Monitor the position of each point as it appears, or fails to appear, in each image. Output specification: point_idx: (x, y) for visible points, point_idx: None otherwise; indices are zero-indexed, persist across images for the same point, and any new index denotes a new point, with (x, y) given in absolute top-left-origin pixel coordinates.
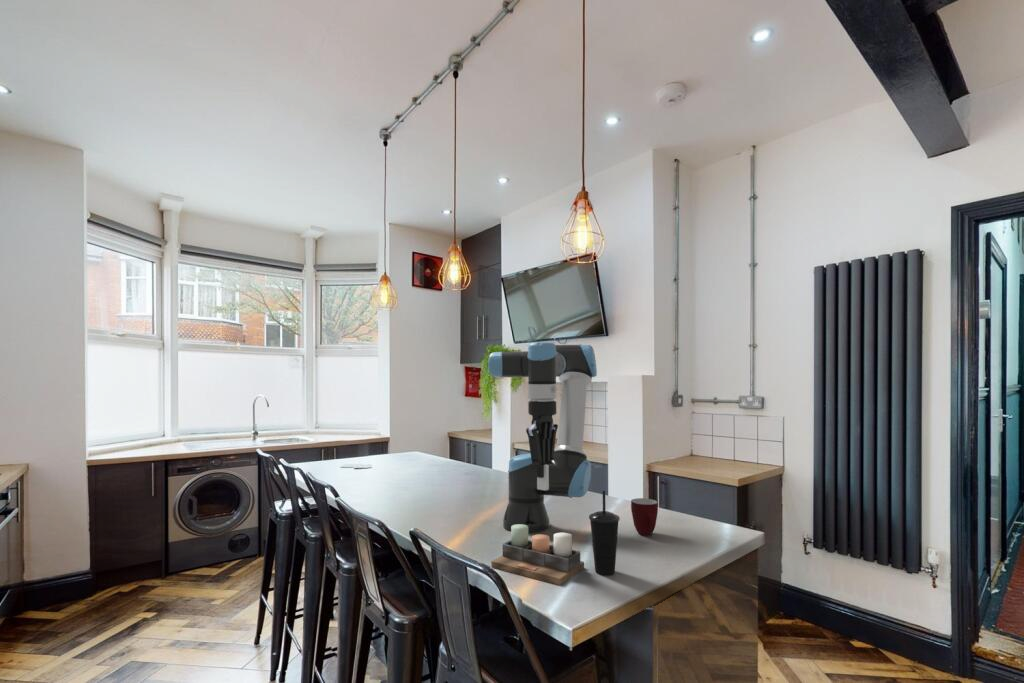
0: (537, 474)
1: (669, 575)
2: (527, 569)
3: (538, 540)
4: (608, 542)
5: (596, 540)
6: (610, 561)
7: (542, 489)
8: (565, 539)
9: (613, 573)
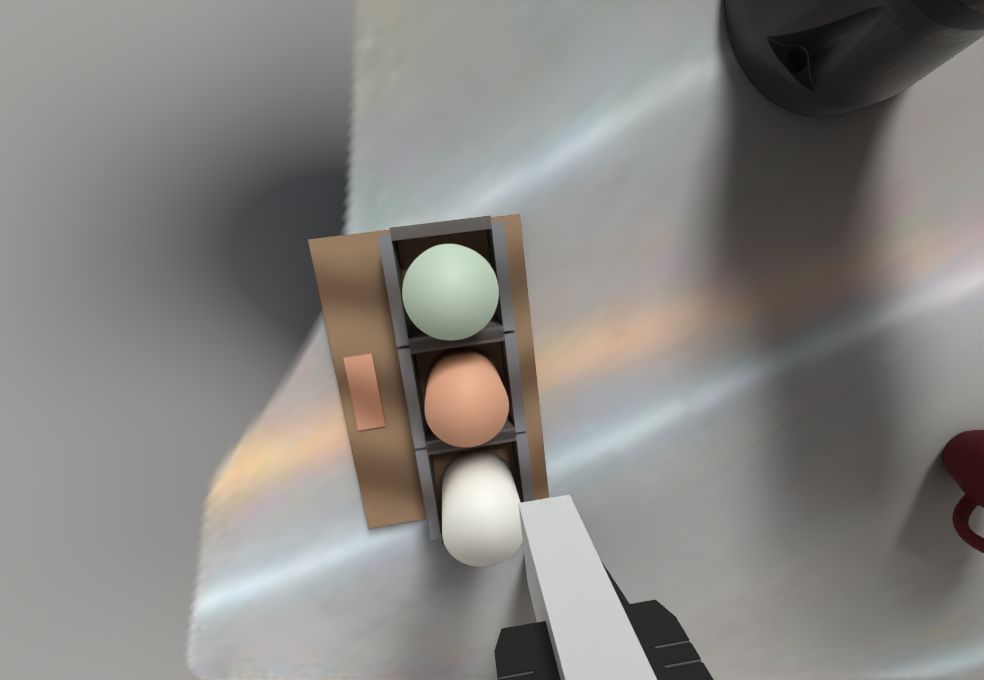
0: (497, 671)
1: None
2: (350, 403)
3: (429, 424)
4: None
5: None
6: None
7: (525, 555)
8: (459, 557)
9: None
